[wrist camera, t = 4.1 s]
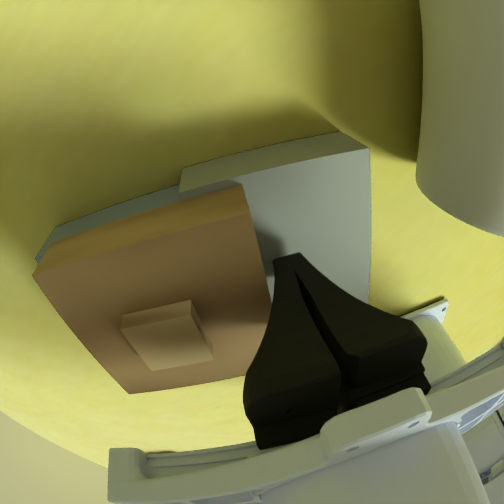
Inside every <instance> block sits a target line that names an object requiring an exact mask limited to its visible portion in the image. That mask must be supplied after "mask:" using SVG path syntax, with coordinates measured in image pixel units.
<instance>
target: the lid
mask: <svg viewBox="0 0 504 504" xmlns="http://www.w3.org/2000/svg"><path fill="white" fill-rule="evenodd" d="M32 276H33V278H34V280H35V281H36V283H37V284H38V285H39V287H40V288H41V290H42V291H43V293H44V294H45V296H46V297H47V298H48V300H49V301H50V303H51V304H52V305H53V307H54V308H55V309H56V311H57V312H58V313H59V315H60V316H61V317H62V319H63V320H64V321H65V323H66V324H67V325H68V326H69V328H70V329H71V330H72V331H73V333H74V334H75V335H76V336H77V338H78V339H79V340H80V341H81V342H82V344H83V345H84V346H85V347H86V348H87V350H88V351H89V352H90V353H91V354H92V355H93V356H94V358H95V359H96V360H97V361H98V362H99V363H100V364H101V365H102V367H103V368H104V369H105V370H106V371H107V372H108V373H109V374H110V375H111V376H112V377H113V378H114V379H115V380H116V381H117V382H118V384H119V385H120V386H121V387H122V388H123V389H124V390H125V391H126V392H127V393H128V394H136V393H144V392H152V391H160V390H167V389H174V388H180V387H186V386H192V385H198V384H204V383H209V382H215V381H220V380H225V379H230V378H235V377H239V376H244V375H246V372H247V370H248V368H249V366H250V365H251V363H252V361H253V359H254V357H255V355H256V353H257V351H258V348H259V346H260V344H261V341H262V339H263V336H264V333H265V330H266V327H267V324H268V320H269V316H270V312H271V307H272V301H271V297H270V293H269V288H268V284H267V280H266V276H265V272H264V267H263V263H262V259H261V255H260V250H259V246H258V242H257V238H256V234H255V229H254V225H253V221H252V217H251V213H250V209H249V206H248V203H247V199H246V196H245V193H244V190H243V186H242V184H241V185H237V186H233V187H229V188H225V189H222V190H218V191H214V192H210V193H207V194H203V195H199V196H196V197H192V198H189V199H185V200H182V201H178V202H175V203H171V204H168V205H164V206H161V207H158V208H154V209H151V210H148V211H145V212H141V213H138V214H135V215H132V216H129V217H126V218H122V219H119V220H116V221H113V222H110V223H107V224H104V225H101V226H98V227H95V228H92V229H90V230H87V231H84V232H81V233H78V234H75V235H72V236H70V237H67V238H64V239H61V240H59V241H56V242H53V243H52V244H51V245H50V247H49V248H48V250H47V251H46V253H45V255H44V256H43V258H42V259H41V261H40V263H39V264H38V266H37V268H36V269H35V271H34V273H33V275H32Z"/></svg>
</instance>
